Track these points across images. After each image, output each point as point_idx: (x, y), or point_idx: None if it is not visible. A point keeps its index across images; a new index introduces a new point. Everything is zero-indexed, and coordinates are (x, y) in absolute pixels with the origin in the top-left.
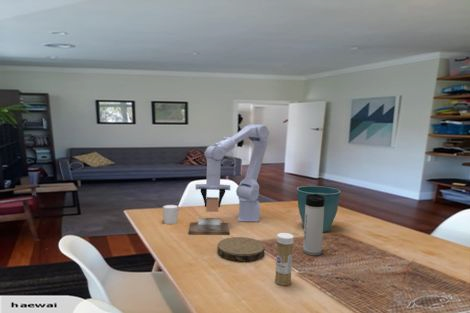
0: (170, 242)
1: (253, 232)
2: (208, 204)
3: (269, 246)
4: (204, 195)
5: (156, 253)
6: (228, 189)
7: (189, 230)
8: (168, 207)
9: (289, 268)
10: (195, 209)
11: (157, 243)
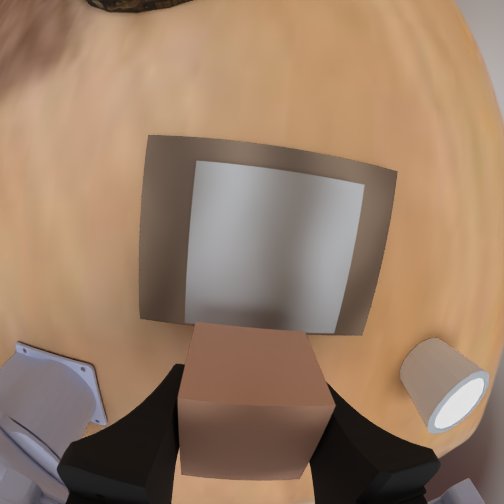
0: (450, 87)
1: (33, 184)
2: (299, 370)
3: (38, 19)
4: (376, 441)
5: (463, 16)
6: (22, 484)
7: (391, 187)
8: (473, 390)
9: None
10: (284, 492)
11: (481, 95)
